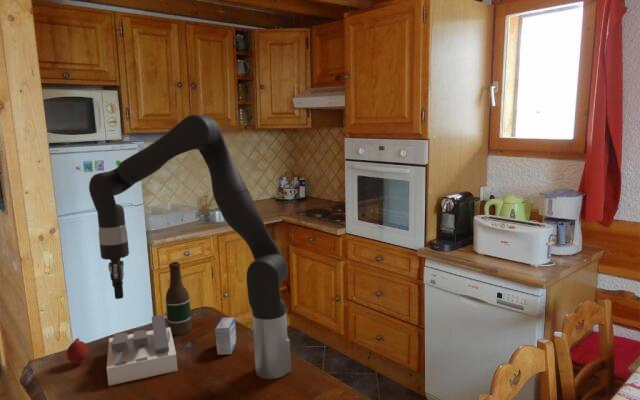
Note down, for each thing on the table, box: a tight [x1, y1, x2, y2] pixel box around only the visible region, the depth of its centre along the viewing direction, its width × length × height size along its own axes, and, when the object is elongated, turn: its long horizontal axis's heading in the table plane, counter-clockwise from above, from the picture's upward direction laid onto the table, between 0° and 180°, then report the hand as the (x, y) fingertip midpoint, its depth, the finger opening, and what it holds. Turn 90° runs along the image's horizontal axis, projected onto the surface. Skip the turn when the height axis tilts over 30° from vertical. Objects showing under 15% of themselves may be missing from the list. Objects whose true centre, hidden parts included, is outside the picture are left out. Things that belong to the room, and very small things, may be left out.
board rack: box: [106, 326, 179, 387], centre depth 138 cm, size 18×20×8 cm
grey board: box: [112, 332, 128, 350], centre depth 135 cm, size 4×16×2 cm, turn 22°
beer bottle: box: [165, 261, 193, 336], centre depth 157 cm, size 8×8×24 cm
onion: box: [66, 337, 90, 365], centre depth 138 cm, size 6×6×8 cm
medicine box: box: [214, 317, 237, 356], centre depth 144 cm, size 8×4×9 cm, turn 179°
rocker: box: [133, 329, 147, 346], centre depth 137 cm, size 4×16×2 cm, turn 22°
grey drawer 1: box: [151, 314, 169, 354], centre depth 139 cm, size 4×16×2 cm, turn 22°
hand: (119, 297), depth 137 cm, fingers closed
